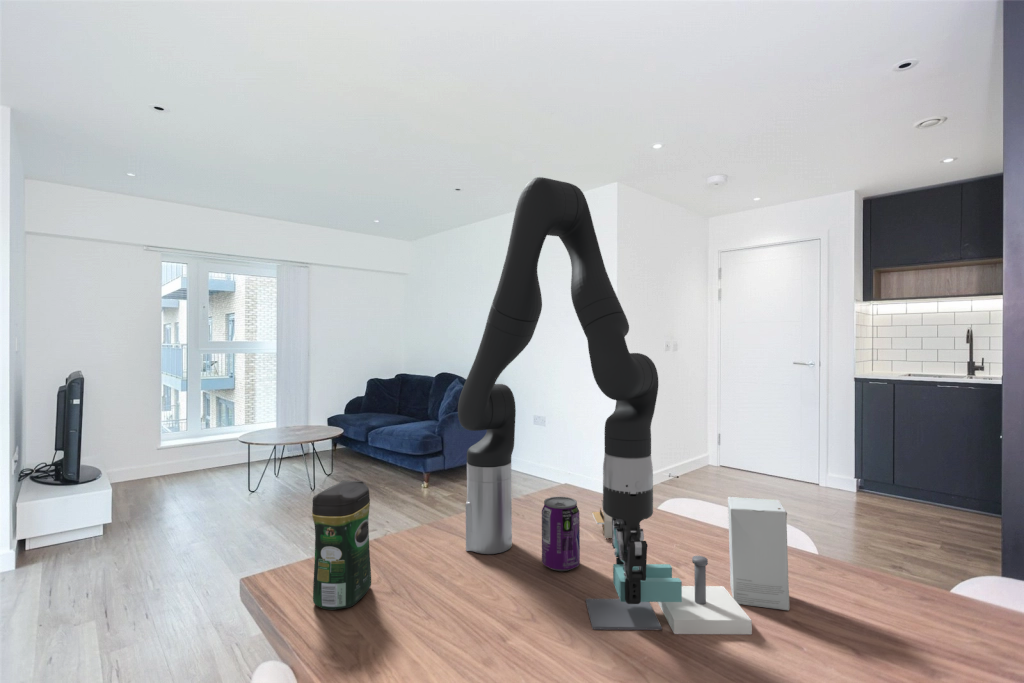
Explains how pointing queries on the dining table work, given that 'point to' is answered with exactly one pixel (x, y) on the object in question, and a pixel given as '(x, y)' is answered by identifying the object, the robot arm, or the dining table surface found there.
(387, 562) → the dining table surface
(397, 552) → the dining table surface
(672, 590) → the c link
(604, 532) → the architectural model
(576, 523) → the beverage can
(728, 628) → the stand
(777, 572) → the skincare box
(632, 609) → the felt pad
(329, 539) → the coffee jar
